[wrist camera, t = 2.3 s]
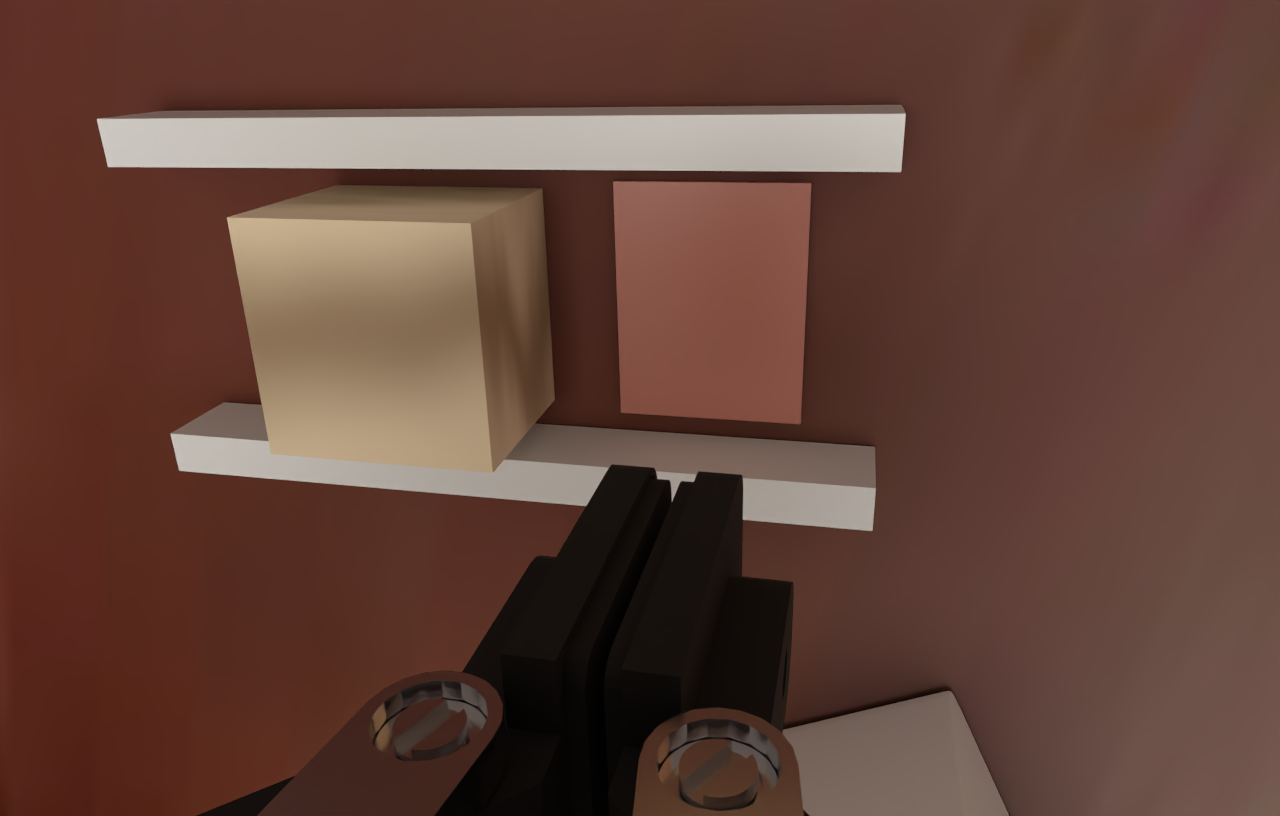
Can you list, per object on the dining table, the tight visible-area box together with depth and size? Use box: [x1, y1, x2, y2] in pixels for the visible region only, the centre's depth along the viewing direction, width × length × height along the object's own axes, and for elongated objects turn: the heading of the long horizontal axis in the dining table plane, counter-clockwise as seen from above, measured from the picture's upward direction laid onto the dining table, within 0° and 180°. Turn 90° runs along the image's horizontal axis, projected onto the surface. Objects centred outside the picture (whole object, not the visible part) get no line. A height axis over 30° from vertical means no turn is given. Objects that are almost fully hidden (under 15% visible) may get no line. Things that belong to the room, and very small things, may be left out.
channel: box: [97, 105, 906, 531], centre depth 25 cm, size 10×20×2 cm, turn 92°
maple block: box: [227, 185, 555, 473], centre depth 24 cm, size 6×6×5 cm
